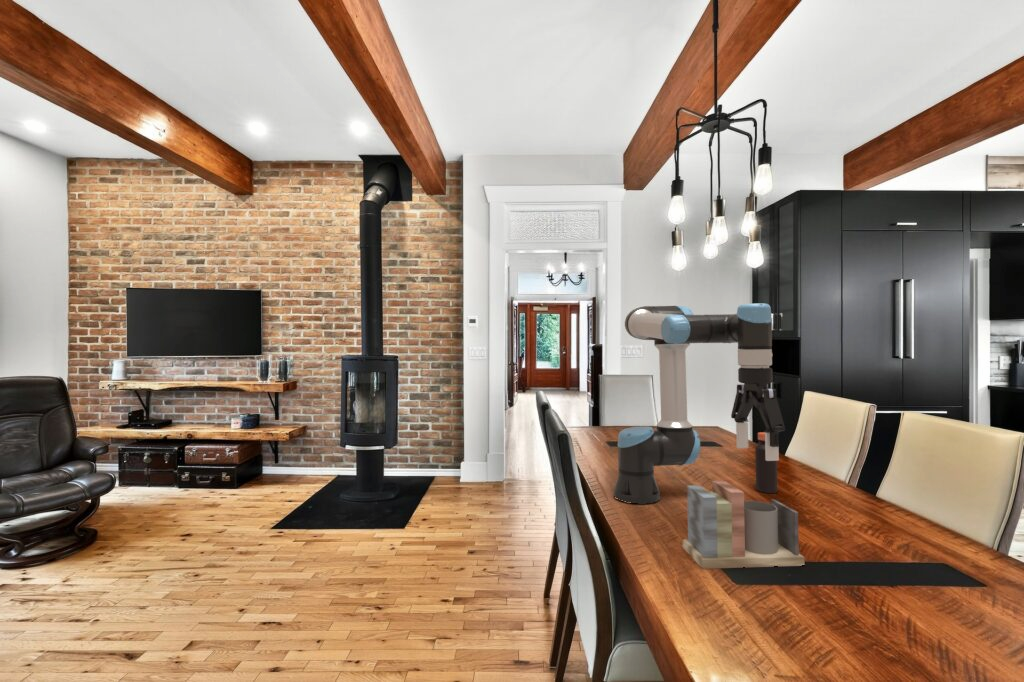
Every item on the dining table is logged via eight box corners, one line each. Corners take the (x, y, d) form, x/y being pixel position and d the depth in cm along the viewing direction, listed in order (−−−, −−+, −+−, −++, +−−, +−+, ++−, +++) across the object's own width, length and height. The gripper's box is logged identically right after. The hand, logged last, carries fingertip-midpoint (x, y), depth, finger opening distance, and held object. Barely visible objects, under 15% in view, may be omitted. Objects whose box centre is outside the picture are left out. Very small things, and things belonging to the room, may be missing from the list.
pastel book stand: (682, 547, 126) (681, 480, 126) (775, 544, 127) (774, 478, 127) (702, 568, 114) (701, 494, 114) (804, 565, 115) (803, 492, 115)
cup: (762, 557, 115) (762, 514, 115) (732, 544, 122) (731, 504, 122) (785, 549, 119) (784, 508, 119) (754, 538, 126) (754, 498, 126)
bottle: (781, 491, 171) (780, 433, 172) (771, 494, 168) (770, 435, 168) (762, 486, 177) (761, 430, 177) (751, 490, 173) (750, 433, 173)
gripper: (801, 369, 108) (803, 466, 108) (744, 364, 133) (745, 443, 133) (768, 369, 108) (769, 466, 108) (716, 364, 133) (718, 443, 133)
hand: (756, 454), depth 121 cm, fingers open, 13 cm apart
